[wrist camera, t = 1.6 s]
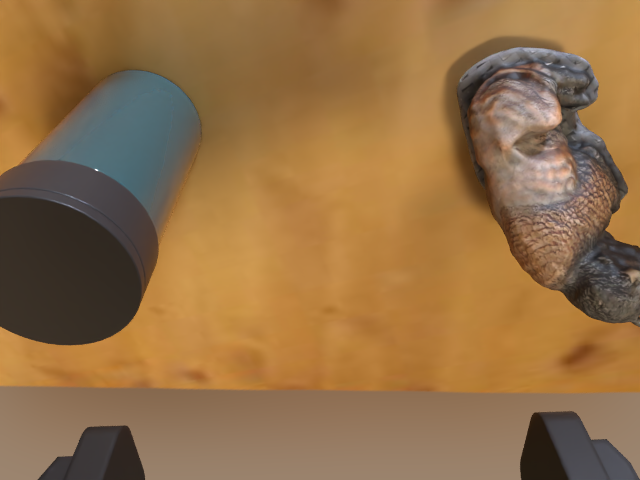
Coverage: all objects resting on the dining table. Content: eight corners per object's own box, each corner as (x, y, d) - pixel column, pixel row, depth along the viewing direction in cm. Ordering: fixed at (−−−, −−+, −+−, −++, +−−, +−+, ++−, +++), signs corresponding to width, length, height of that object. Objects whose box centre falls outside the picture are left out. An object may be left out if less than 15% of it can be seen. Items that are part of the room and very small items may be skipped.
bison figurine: (422, 80, 29) (463, 170, 21) (553, 3, 27) (659, 68, 19) (508, 241, 35) (568, 362, 26) (622, 188, 33) (727, 301, 24)
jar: (72, 70, 29) (-70, 192, 18) (193, 68, 29) (120, 190, 18) (100, 178, 32) (-5, 332, 22) (208, 176, 32) (155, 330, 22)
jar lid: (-45, 160, 20) (-89, 197, 18) (141, 157, 20) (119, 194, 18) (15, 302, 23) (-15, 347, 21) (171, 300, 23) (156, 344, 21)
